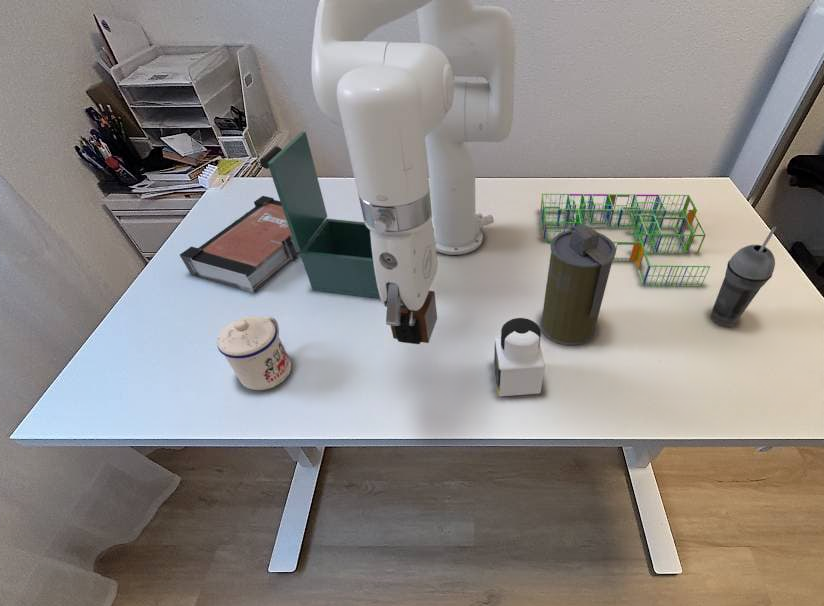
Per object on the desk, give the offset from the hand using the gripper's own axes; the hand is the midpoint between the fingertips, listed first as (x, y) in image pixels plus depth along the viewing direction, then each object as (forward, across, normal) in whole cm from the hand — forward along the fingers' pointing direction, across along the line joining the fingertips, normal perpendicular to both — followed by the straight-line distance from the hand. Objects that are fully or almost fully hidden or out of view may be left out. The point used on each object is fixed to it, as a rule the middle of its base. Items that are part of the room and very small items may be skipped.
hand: (415, 326), depth 63 cm
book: (+17, +34, +47) cm, 61 cm away
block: (0, 0, 0) cm, 0 cm away
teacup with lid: (+16, +2, +29) cm, 33 cm away
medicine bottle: (+16, +6, -14) cm, 23 cm away
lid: (-1, +29, +30) cm, 42 cm away
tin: (+17, +29, +22) cm, 40 cm away
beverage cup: (+17, +29, -51) cm, 61 cm away
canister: (+17, +21, -22) cm, 35 cm away
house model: (+17, +51, -32) cm, 62 cm away
